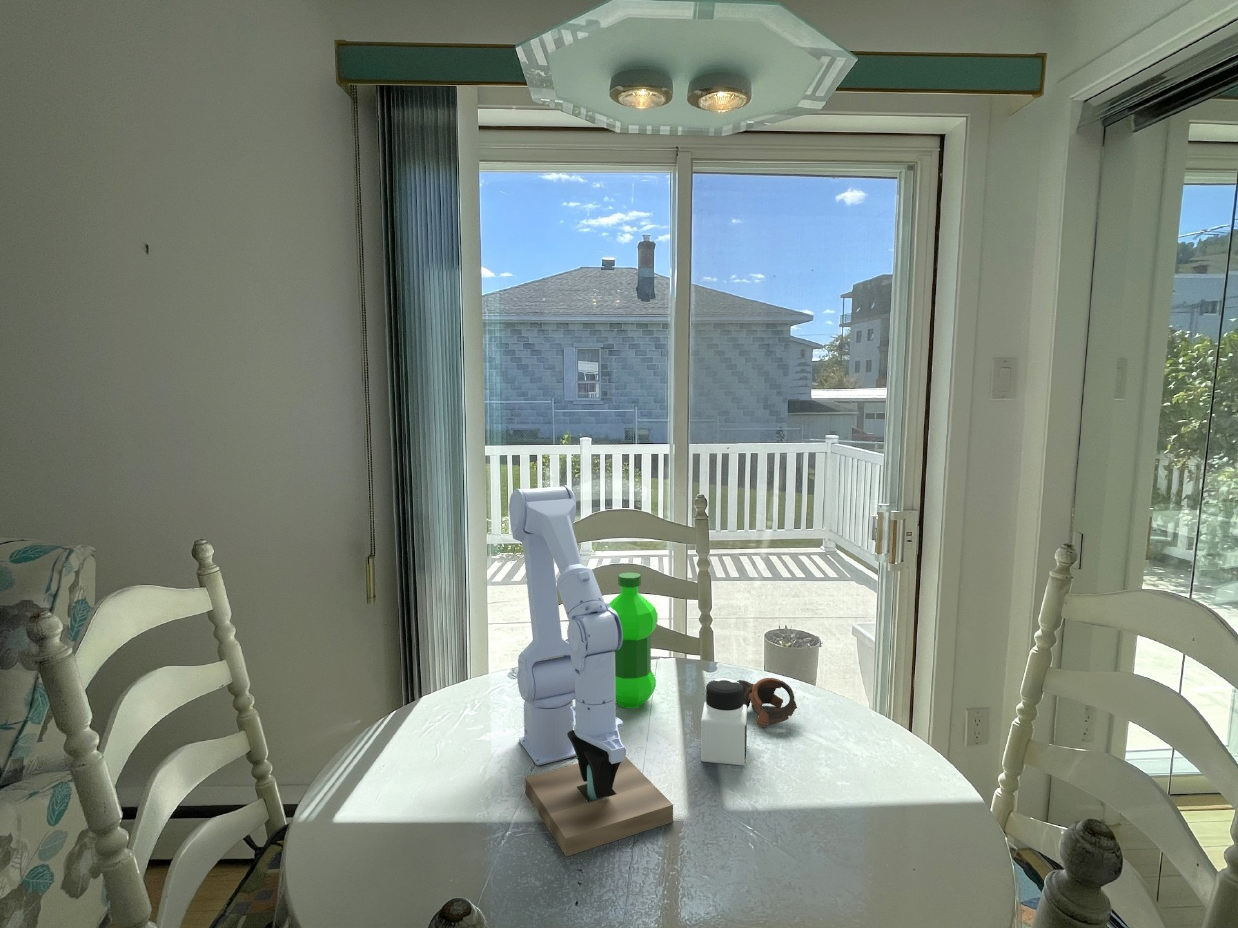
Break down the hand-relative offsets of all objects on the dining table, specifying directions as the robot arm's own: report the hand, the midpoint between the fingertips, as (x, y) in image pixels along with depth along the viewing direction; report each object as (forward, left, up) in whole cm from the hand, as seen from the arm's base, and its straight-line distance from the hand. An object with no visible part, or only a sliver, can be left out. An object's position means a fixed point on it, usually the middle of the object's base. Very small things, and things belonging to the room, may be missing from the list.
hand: (596, 786), depth 99 cm
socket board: (0, 0, -3) cm, 3 cm away
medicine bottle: (-4, +25, -3) cm, 26 cm away
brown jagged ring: (-12, +39, -3) cm, 41 cm away
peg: (0, 0, -3) cm, 3 cm away
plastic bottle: (-28, +20, -3) cm, 35 cm away
